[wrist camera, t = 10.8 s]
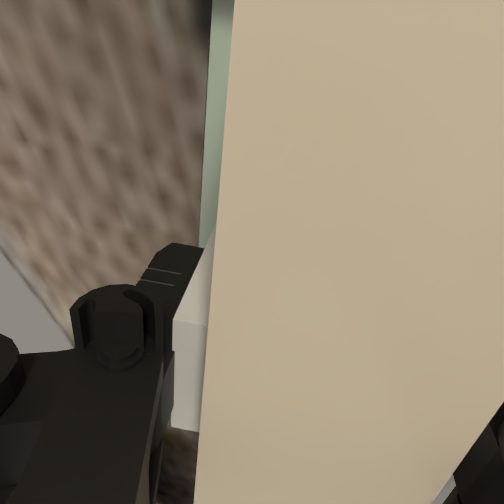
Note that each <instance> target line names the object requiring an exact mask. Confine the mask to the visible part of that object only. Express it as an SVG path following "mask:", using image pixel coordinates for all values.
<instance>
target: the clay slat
mask: <svg viewBox="0 0 504 504" xmlns="http://www.w3.org/2000/svg"><path fill="white" fill-rule="evenodd" d="M503 402H504V0H235V3H234V15H233V27H232V39H231V52H230V64H229V76H228V89H227V101H226V113H225V125H224V138H223V150H222V162H221V174H220V187H219V199H218V211H217V223H216V236H215V248H214V260H213V273H212V285H211V297H210V309H209V322H208V334H207V346H206V358H205V371H204V383H203V395H202V408H201V420H200V432H199V444H198V457H197V469H196V481H195V493H194V504H431V503H432V502H433V501H434V499H435V498H436V496H437V495H438V494H439V492H440V491H441V489H442V488H443V486H444V485H445V484H446V482H447V481H448V479H449V478H450V477H451V475H452V474H453V472H454V471H455V470H456V468H457V467H458V465H459V464H460V463H461V461H462V460H463V458H464V457H465V455H466V454H467V453H468V451H469V450H470V448H471V447H472V446H473V444H474V443H475V441H476V440H477V439H478V437H479V436H480V434H481V433H482V431H483V430H484V429H485V427H486V426H487V424H488V423H489V422H490V420H491V419H492V417H493V416H494V415H495V413H496V412H497V410H498V409H499V407H500V406H501V405H502V403H503Z"/></svg>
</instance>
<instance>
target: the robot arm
mask: <svg viewBox="0 0 504 504" xmlns="http://www.w3.org/2000/svg"><path fill="white" fill-rule="evenodd" d="M215 236H216V225H215V227H214V229H213V231H212V234H211V236H210V238H209V240H208V243H207V245H206V247H205V248H200V247H195V246H189V245H183V244H177V243H171V244H170V245H168V246H166V247H165V248H163V249H162V250H160V251H158V252H157V253H156V254H155V256H154V258H153V259H152V261H151V262H150V264H149V265H148V269H146V270H145V272H144V273H143V275H142V276H141V280H140V281H138V283H137V284H136V286H134V285H129V284H120V285H108V286H104V287H101V288H97V289H94V290H92V291H90V292H88V293H87V294H85V295H83V296H81V297H80V298H78V300H77V301H76V302H75V303H74V304H73V306H72V307H71V308H70V309H69V310H70V316H71V322H72V328H73V335H74V341H75V347H76V348H74V349H70V350H63V351H57V352H43V353H28V354H19V351H18V348H17V347H16V345H15V344H14V342H13V340H12V339H10V338H8V337H6V336H4V335H2V334H0V504H155V503H156V497H157V490H158V483H159V477H160V470H161V463H162V456H163V435H164V432H165V429H166V426H167V423H168V420H169V418H170V415H171V427H175V428H180V429H185V430H190V431H195V432H200V420H201V408H202V395H203V383H204V371H205V358H206V346H207V334H208V322H209V309H210V297H211V285H212V273H213V260H214V248H215ZM453 475H454V479H455V483H456V486H455V488H454V489H453V490H452V492H451V493H450V494H449V496H448V497H447V499H446V500H445V501H444V503H443V504H504V402H503V403H502V405H501V406H500V407H499V409H498V410H497V412H496V413H495V415H494V416H493V417H492V419H491V420H490V422H489V423H488V424H487V426H486V427H485V429H484V430H483V431H482V433H481V434H480V436H479V437H478V439H477V440H476V441H475V443H474V444H473V446H472V447H471V448H470V450H469V451H468V453H467V454H466V455H465V457H464V458H463V460H462V461H461V463H460V464H459V465H458V467H457V468H456V470H455V471H454V472H453Z"/></svg>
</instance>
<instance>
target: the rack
mask: <svg viewBox="0 0 504 504" xmlns="http://www.w3.org/2000/svg"><path fill="white" fill-rule="evenodd" d="M234 3H235V0H212V18H211V35H210V53H209V71H208V89H207V106H206V124H205V142H204V160H203V177H202V195H201V213H200V231H199V247H200V248H205V247H206V245H207V243H208V240H209V238H210V236H211V234H212V231H213V229H214V227H215V225H216V223H217V211H218V199H219V187H220V174H221V162H222V150H223V138H224V125H225V113H226V101H227V89H228V76H229V64H230V52H231V39H232V27H233V15H234Z"/></svg>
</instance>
